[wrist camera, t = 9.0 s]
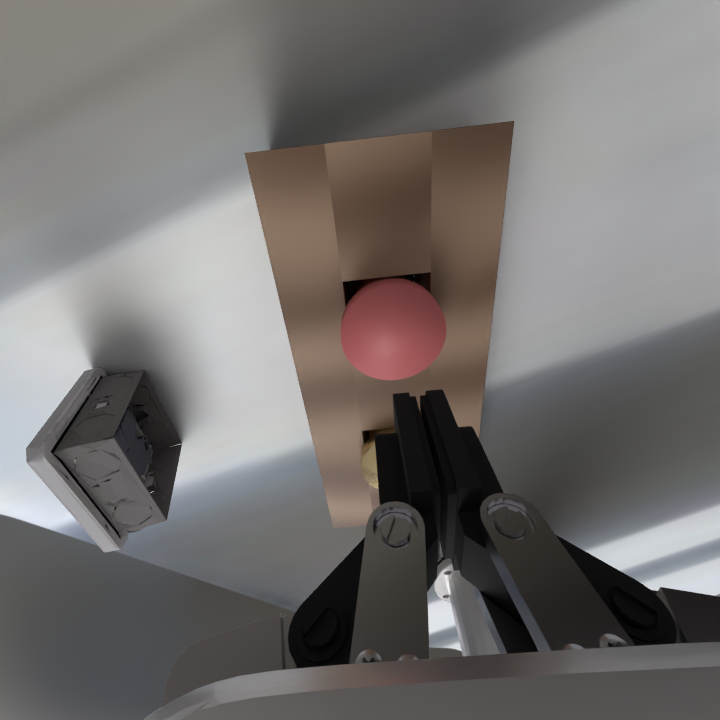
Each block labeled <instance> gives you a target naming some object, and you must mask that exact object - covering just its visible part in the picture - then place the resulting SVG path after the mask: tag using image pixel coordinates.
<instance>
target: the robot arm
mask: <svg viewBox="0 0 720 720" xmlns="http://www.w3.org/2000/svg"><path fill="white" fill-rule="evenodd" d="M393 410H394V425H395V433H386V434H374V436H375V449H376V462H377V475H378V488H379V501H380V506H378V507H377V508H376V509H374V510H373V512H372V513H371V515H370V516H369V518H368V522H367V526H366V534H365V538H364V539H363V540H362V541H361V542H360V543H359V544H358V545H357V546H356V547H355V548H354V549H353V550H352V551H351V553H350V554H349V555H348V556H347V557H346V558H345V559H344V560H343V561H342V562H341V563H340V564H339V565H338V566H337V567H336V568H335V570H334V571H333V572H332V573H331V574H330V575H329V576H328V577H327V578H326V579H325V580H324V581H323V582H322V583H321V584H320V585H319V586H318V588H317V589H316V590H315V591H314V592H313V593H312V594H311V595H310V596H309V597H308V598H307V599H306V600H305V601H304V602H303V603H302V605H301V606H300V607H299V609H298V610H297V611H296V612H294V613H292V614H289V615H286V616H283V617H281V614H277V615H274V616H271V617H268V618H265V619H262V620H259V621H256V622H253V623H250V624H247V625H244V626H241V627H239V628H236V629H233V630H230V631H227V632H224V633H221V634H218V635H215V636H212V637H209V638H207V639H204V640H201V641H199V642H197V643H195V644H193V645H192V646H190V647H189V648H188V649H187V650H186V651H185V652H184V653H183V654H182V655H181V656H180V657H179V658H178V659H177V661H176V663H175V664H174V666H173V667H172V669H171V671H170V673H169V676H168V680H167V682H166V686H165V691H164V696H163V702H162V707H161V708H160V709H158V710H156V711H155V712H153V713H152V714H150V715H149V716H148V717H147V718H145V719H144V720H720V597H718V596H712V595H706V594H700V593H693V592H687V591H681V590H675V589H669V588H663V587H660V589H659V590H658V591H654V590H650V589H648V588H647V587H646V586H644V585H643V584H641V583H640V582H638V581H637V580H635V579H633V578H631V577H629V576H628V575H626V574H624V573H622V572H621V571H619V570H617V569H615V568H613V567H612V566H610V565H608V564H606V563H605V562H603V561H601V560H599V559H598V558H596V557H594V556H592V555H590V554H589V553H587V552H585V551H583V550H582V549H580V548H578V547H576V546H574V545H573V544H571V543H569V542H567V541H566V540H564V539H562V538H560V537H559V536H557V535H555V534H554V532H553V531H552V529H551V528H550V527H549V525H548V524H547V523H546V521H545V520H544V518H543V517H542V516H541V514H540V513H539V511H538V510H537V509H536V508H535V507H534V506H533V505H532V504H531V503H529V502H528V501H526V500H525V499H524V498H521V497H519V496H517V495H514V494H509V493H503V490H502V488H501V486H500V484H499V482H498V480H497V478H496V475H495V473H494V471H493V469H492V467H491V465H490V462H489V460H488V458H487V456H486V454H485V452H484V450H483V447H482V445H481V443H480V441H479V439H478V437H477V435H476V432H475V430H474V429H473V427H472V426H466V427H458V425H457V423H456V420H455V418H454V416H453V413H452V411H451V408H450V406H449V403H448V401H447V398H446V396H445V393H444V391H443V390H442V389H439V390H428V391H426V392H425V395H420V410H419V407H418V403H417V399H416V396H410V395H409V392H406V393H395V394H393ZM440 543H441V548H442V552H443V556H444V558H445V560H443V561H442V562H441V563H440V564H439V565H438V559H439V546H440ZM432 584H433V585H434V589H435V592H436V593H437V595H438V596H439V597H440V598H442V599H443V600H445V601H447V602H449V603H451V606H452V610H453V615H454V619H455V623H456V628H457V632H458V637H459V641H460V645H461V650H462V654H463V657H447V658H432V659H429V631H428V602H427V592H428V590H429V589H430V587H431V586H432Z"/></svg>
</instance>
